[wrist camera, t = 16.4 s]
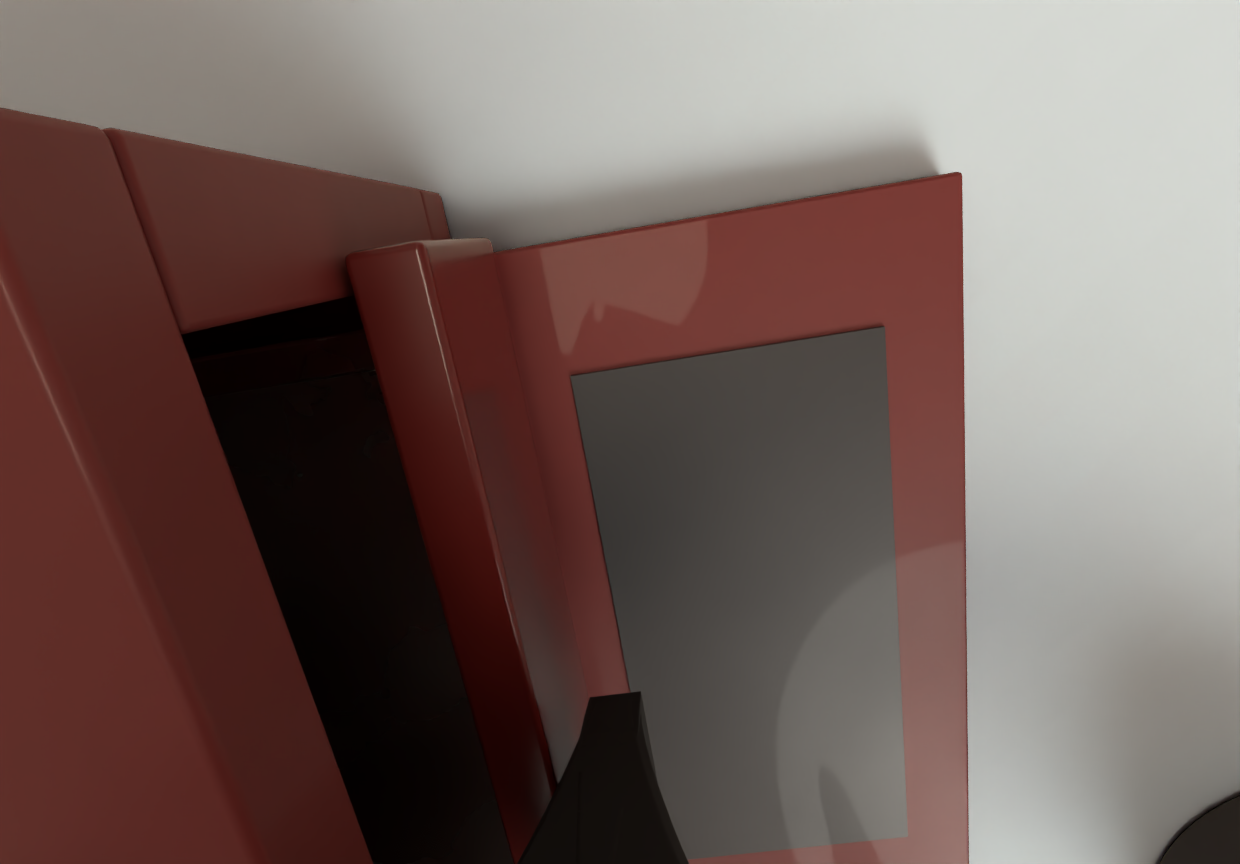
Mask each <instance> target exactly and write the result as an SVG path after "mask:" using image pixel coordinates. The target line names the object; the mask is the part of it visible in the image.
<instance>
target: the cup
mask: <svg viewBox="0 0 1240 864" xmlns="http://www.w3.org/2000/svg"><path fill="white" fill-rule="evenodd" d="M1160 864H1240V796H1238V797H1236V798H1234V799H1232V800H1229V801H1227V802H1225V803H1224V804H1222V805H1220V806H1218V807H1216V808H1215V809H1213V810H1211V811H1210V812H1208V813H1207V814H1205V815H1204V816H1202V817H1201V818H1200V819H1198V820H1197V821H1196V822H1194V823H1193V824H1192V825H1191V826H1190V827H1189V828H1187V829H1186V830H1185V831H1184V832H1183V833H1182V834H1181V835H1180V836H1179V837H1178V838H1177V839H1176V840H1175V842H1174V843H1173V844H1172V845H1171V847H1170V848H1169V849H1168V851H1167V852H1166V853H1165V855H1164V857H1163V859H1162V860H1161V862H1160Z"/></svg>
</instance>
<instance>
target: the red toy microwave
mask: <svg viewBox="0 0 1240 864" xmlns="http://www.w3.org/2000/svg"><path fill="white" fill-rule="evenodd" d="M438 239H451V238H450V234H449V230H448V225H447V221H446V217H445V212H444V208H443V204H442V199H441V196H440V195H439V193H435V192H430V191H425V190H419V189H416V188H412V187H407V186H402V185H397V184H392V183H387V182H382V181H377V180H372V179H366V178H361V177H356V176H351V175H346V174H341V173H336V172H331V171H326V170H321V169H316V168H311V167H306V166H301V165H296V164H291V163H286V162H281V161H276V160H271V159H266V158H261V157H256V156H251V155H246V154H241V153H236V152H230V151H225V150H220V149H215V148H210V147H205V146H200V145H195V144H190V143H185V142H180V141H175V140H170V139H165V138H160V137H155V136H150V135H145V134H140V133H135V132H130V131H125V130H120V129H115V128H106V129H99V128H98V127H94V126H90V125H86V124H81V123H76V122H71V121H66V120H61V119H56V118H50V117H45V116H40V115H35V114H30V113H25V112H20V111H15V110H10V109H4V108H0V864H373V861H372V859H371V856H370V853H369V850H368V848H367V845H366V842H365V839H364V837H363V834H362V831H361V828H360V826H359V823H358V820H357V817H356V815H355V812H354V809H353V806H352V804H351V801H350V798H349V795H348V793H347V790H346V787H345V784H344V782H343V779H342V776H341V773H340V771H339V768H338V765H337V762H336V760H335V757H334V754H333V751H332V749H331V746H330V743H329V740H328V738H327V735H326V732H325V729H324V727H323V724H322V721H321V718H320V716H319V713H318V710H317V707H316V705H315V702H314V699H313V696H312V694H311V691H310V688H309V685H308V683H307V680H306V677H305V674H304V672H303V669H302V666H301V663H300V661H299V658H298V655H297V652H296V650H295V647H294V644H293V641H292V639H291V636H290V633H289V630H288V628H287V625H286V622H285V619H284V617H283V614H282V611H281V608H280V606H279V603H278V600H277V597H276V595H275V592H274V589H273V586H272V584H271V581H270V578H269V575H268V573H267V570H266V567H265V564H264V562H263V559H262V556H261V553H260V551H259V548H258V545H257V542H256V540H255V537H254V534H253V531H252V529H251V526H250V523H249V520H248V518H247V515H246V512H245V509H244V507H243V504H242V501H241V498H240V496H239V493H238V490H237V487H236V485H235V482H234V479H233V476H232V474H231V471H230V468H229V465H228V463H227V460H226V457H225V454H224V452H223V449H222V446H221V443H220V441H219V438H218V435H217V432H216V430H215V427H214V424H213V421H212V419H211V416H210V413H209V410H208V408H207V405H206V402H205V399H204V397H203V394H202V391H201V388H200V386H199V383H198V380H197V377H196V375H195V372H194V369H193V366H192V364H191V361H190V358H189V355H188V353H187V350H186V349H191V348H197V347H203V346H209V345H215V344H221V343H227V342H233V341H239V340H245V339H251V338H257V337H263V336H268V335H274V334H280V333H286V332H292V331H298V330H304V329H310V328H316V327H322V326H328V325H334V324H340V323H346V322H352V321H358V320H361V317H360V314H359V310H358V306H357V303H356V299H355V296H354V292H353V289H352V285H351V281H350V278H349V274H348V271H347V267H346V264H345V257H346V255H348V254H349V253H351V252H353V251H358V250H364V249H370V248H375V247H381V246H387V245H392V244H398V243H404V242H410V241H415V240H438ZM493 253H494V257H495V262H496V267H497V271H498V276H499V281H500V285H501V290H502V295H503V299H504V304H505V309H506V313H507V318H508V323H509V327H510V332H511V337H512V341H513V346H514V351H515V355H516V360H517V365H518V369H519V374H520V379H521V383H522V388H523V393H524V397H525V402H526V407H527V411H528V416H529V421H530V425H531V430H532V435H533V439H534V444H535V449H536V453H537V458H538V463H539V467H540V472H541V477H542V481H543V486H544V491H545V495H546V500H547V505H548V509H549V514H550V519H551V523H552V528H553V533H554V537H555V542H556V547H557V551H558V556H559V561H560V565H561V570H562V575H563V579H564V584H565V589H566V593H567V598H568V603H569V607H570V612H571V617H572V621H573V626H574V631H575V635H576V640H577V645H578V649H579V654H580V659H581V663H582V668H583V673H584V677H585V682H586V687H587V691H588V696H589V698H590V697H597V696H605V695H613V694H622V693H630V692H638V691H641V695H642V700H643V705H644V711H645V716H646V722H647V727H648V733H649V738H650V743H651V749H652V754H653V760H654V765H655V771H656V776H657V781H658V786H659V789H660V791H661V794H662V797H663V800H664V802H665V805H666V808H667V810H668V813H669V816H670V819H671V821H672V824H673V827H674V829H675V832H676V834H677V836H678V839H679V841H680V844H681V846H682V849H683V851H684V853H685V855H686V858H687V860H688V862H689V864H969V836H968V734H967V631H966V528H965V426H964V323H963V220H962V174H961V173H959V172H954V173H948V174H942V175H936V176H930V177H925V178H919V179H913V180H907V181H902V182H896V183H890V184H884V185H878V186H873V187H867V188H861V189H855V190H850V191H844V192H838V193H832V194H826V195H821V196H815V197H809V198H803V199H798V200H792V201H786V202H780V203H775V204H769V205H763V206H757V207H751V208H746V209H740V210H734V211H728V212H723V213H717V214H711V215H705V216H699V217H694V218H688V219H682V220H676V221H671V222H665V223H659V224H653V225H647V226H642V227H636V228H630V229H624V230H619V231H613V232H607V233H601V234H595V235H590V236H584V237H578V238H572V239H567V240H561V241H555V242H549V243H543V244H538V245H532V246H526V247H520V248H515V249H509V250H503V251H497V252H493Z"/></svg>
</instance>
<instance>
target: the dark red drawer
mask: <svg viewBox="0 0 1240 864" xmlns="http://www.w3.org/2000/svg"><path fill="white" fill-rule="evenodd" d="M345 264H346V267H347V271H348V274H349V278H350V281H351V285H352V289H353V292H354V296H355V299H356V303H357V306H358V310H359V314H360V317H361V320H358V321H352V322H346V323H340V324H334V325H328V326H322V327H316V328H310V329H304V330H298V331H292V332H286V333H280V334H274V335H268V336H263V337H257V338H251V339H245V340H239V341H233V342H227V343H221V344H215V345H209V346H203V347H197V348H191V349H186V350H187V353H188V355H189V358H190V361H191V364H192V366H193V369H194V372H195V375H196V377H197V380H198V383H199V386H200V388H201V391H202V394H203V397H204V399H205V402H206V405H207V408H208V410H209V413H210V416H211V419H212V421H213V424H214V427H215V430H216V432H217V435H218V438H219V441H220V443H221V446H222V449H223V452H224V454H225V457H226V460H227V463H228V465H229V468H230V471H231V474H232V476H233V479H234V482H235V485H236V487H237V490H238V493H239V496H240V498H241V501H242V504H243V507H244V509H245V512H246V515H247V518H248V520H249V523H250V526H251V529H252V531H253V534H254V537H255V540H256V542H257V545H258V548H259V551H260V553H261V556H262V559H263V562H264V564H265V567H266V570H267V573H268V575H269V578H270V581H271V584H272V586H273V589H274V592H275V595H276V597H277V600H278V603H279V606H280V608H281V611H282V614H283V617H284V619H285V622H286V625H287V628H288V630H289V633H290V636H291V639H292V641H293V644H294V647H295V650H296V652H297V655H298V658H299V661H300V663H301V666H302V669H303V672H304V674H305V677H306V680H307V683H308V685H309V688H310V691H311V694H312V696H313V699H314V702H315V705H316V707H317V710H318V713H319V716H320V718H321V721H322V724H323V727H324V729H325V732H326V735H327V738H328V740H329V743H330V746H331V749H332V751H333V754H334V757H335V760H336V762H337V765H338V768H339V771H340V773H341V776H342V779H343V782H344V784H345V787H346V790H347V793H348V795H349V798H350V801H351V804H352V806H353V809H354V812H355V815H356V817H357V820H358V823H359V826H360V828H361V831H362V834H363V837H364V839H365V842H366V845H367V848H368V850H369V853H370V856H371V859H372V861H373V864H517V863H518V861H519V859H520V857H521V855H522V854H523V852H524V850H525V848H526V847H527V845H528V843H529V841H530V839H531V838H532V836H533V834H534V832H535V830H536V828H537V826H538V824H539V822H540V820H541V818H542V816H543V814H544V812H545V810H546V808H547V806H548V804H549V802H550V800H551V798H552V796H553V794H554V792H555V790H556V788H557V786H558V784H559V782H560V780H561V778H562V776H563V773H564V771H565V769H566V767H567V764H568V762H569V760H570V758H571V756H572V753H573V751H574V749H575V746H576V744H577V742H578V739H579V737H580V734H581V729H582V725H583V720H584V716H585V712H586V709H587V705H588V701H589V696H588V691H587V687H586V682H585V677H584V673H583V668H582V663H581V659H580V654H579V649H578V645H577V640H576V635H575V631H574V626H573V621H572V617H571V612H570V607H569V603H568V598H567V593H566V589H565V584H564V579H563V575H562V570H561V565H560V561H559V556H558V551H557V547H556V542H555V537H554V533H553V528H552V523H551V519H550V514H549V509H548V505H547V500H546V495H545V491H544V486H543V481H542V477H541V472H540V467H539V463H538V458H537V453H536V449H535V444H534V439H533V435H532V430H531V425H530V421H529V416H528V411H527V407H526V402H525V397H524V393H523V388H522V383H521V379H520V374H519V369H518V365H517V360H516V355H515V351H514V346H513V341H512V337H511V332H510V327H509V323H508V318H507V313H506V309H505V304H504V299H503V295H502V290H501V285H500V281H499V276H498V271H497V267H496V262H495V257H494V253H493V248H492V243H491V242H490V240H489V239H487V238H464V239H438V240H415V241H410V242H404V243H398V244H392V245H387V246H381V247H375V248H370V249H364V250H358V251H353V252H351V253H349V254H348V255H346V257H345Z"/></svg>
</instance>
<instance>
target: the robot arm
mask: <svg viewBox="0 0 1240 864" xmlns="http://www.w3.org/2000/svg"><path fill="white" fill-rule="evenodd" d="M517 864H689V862H688V860H687V858H686V855H685V853H684V851H683V849H682V846H681V844H680V841H679V839H678V836H677V834H676V832H675V829H674V827H673V824H672V821H671V819H670V816H669V813H668V810H667V808H666V805H665V802H664V800H663V797H662V794H661V791H660V789H659V786H658V781H657V776H656V771H655V765H654V760H653V754H652V749H651V743H650V738H649V733H648V727H647V722H646V716H645V711H644V705H643V700H642V695H641V691H638V692H630V693H622V694H613V695H605V696H597V697H590V698H589V701H588V705H587V709H586V712H585V716H584V720H583V725H582V729H581V734H580V737H579V739H578V742H577V744H576V746H575V749H574V751H573V753H572V756H571V758H570V760H569V762H568V764H567V767H566V769H565V771H564V773H563V776H562V778H561V780H560V782H559V784H558V786H557V788H556V790H555V792H554V794H553V796H552V798H551V800H550V802H549V804H548V806H547V808H546V810H545V812H544V814H543V816H542V818H541V820H540V822H539V824H538V826H537V828H536V830H535V832H534V834H533V836H532V838H531V839H530V841H529V843H528V845H527V847H526V848H525V850H524V852H523V854H522V855H521V857H520V859H519V861H518V863H517Z"/></svg>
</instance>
